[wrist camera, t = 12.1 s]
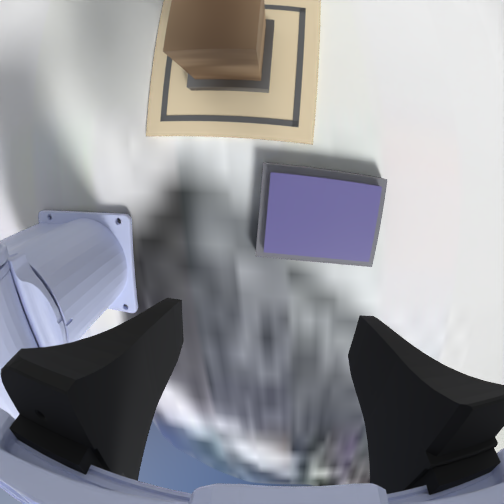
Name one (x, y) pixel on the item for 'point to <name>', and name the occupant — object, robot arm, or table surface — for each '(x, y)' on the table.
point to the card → (241, 102)
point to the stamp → (221, 44)
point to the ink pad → (319, 215)
